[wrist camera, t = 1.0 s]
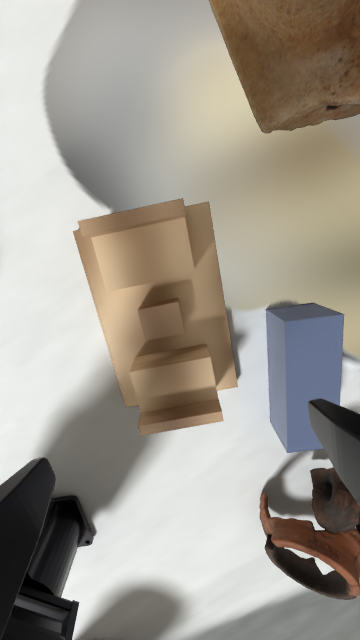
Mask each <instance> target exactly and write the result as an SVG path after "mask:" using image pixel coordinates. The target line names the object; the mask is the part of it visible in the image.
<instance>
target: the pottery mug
mask: <svg viewBox="0 0 360 640" xmlns="http://www.w3.org/2000/svg"><path fill="white" fill-rule="evenodd" d="M310 473H311V478H312V483H313V490H312V496H313V499H312V509H313V511H314V515H315V518H316V520H317V523H318V524H319V525H320V526H321V527H322V528H324V529H325V530H315V529H314V526H313V523H312V522H311V521H307V520H297V519H294V518H289V519H282V518H279V517H272V518H271V517H270V514H269V510H268V497H267V495H266V494H265V493H263V494H262V495H261V497H260V520H261V522H262V526H263V529H264V532H265V535H266V537H267V541H266V545H265V550H266V553H267V555H268V557H269V558H270V559H271V561H272V562H273V563H274V564H275V565H276V566H277V567H278V568H280V569H281V570H282V571H283V572H284V573H285V574H286V575H287V576H289V577H291V578H292V579H293V580H295V581H296V582H298V583H300V584H301V585H303V586H305V587H306V588H308V589H311V590H313V591H315V592H318V593H319V594H322V595H325V596H328V597H331V598H335V599H344V600H350V599H354V598H356V596H358V595H359V594H360V584H359V578H360V505H359V504H358V503H357V501H356V500H355V498H354V497H353V495H352V494H351V493H350V491H349V490H348V488H347V487H346V485H345V484H344V483H343V481H342V480H341V478H340V477H339V475H338V473H337V472H336V470H335V468H329V469H325V468H316V469H312V470H311V471H310ZM355 526H356V528H355ZM284 547H287V548H293V549H296V550H299V551H302V552H305V553H307V554H309V555H312V556H314V557H317V558H319V559H320V560H322V561H323V562H325V563H326V564H328V565H329V566H331V567H332V568H333V569H335V570H334V571H331V572H329V573H328V574H326V575H323V574H322V573H321V571H320V570H319V568H318V567H317V565H316V563H315V559H314V558H313V557H311V558H308V559H305V558H301V557H299V556H298V555H296V554H295V553H293V552H292V551H291V550H288V549H285V548H284Z"/></svg>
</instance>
